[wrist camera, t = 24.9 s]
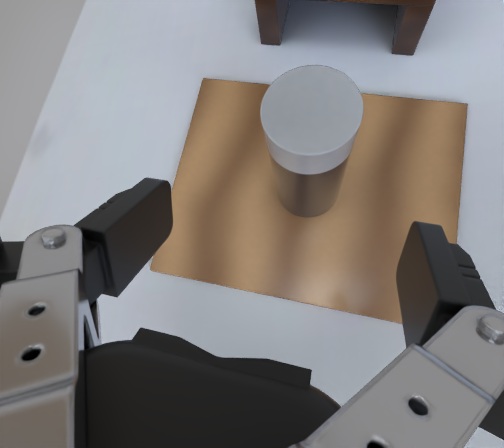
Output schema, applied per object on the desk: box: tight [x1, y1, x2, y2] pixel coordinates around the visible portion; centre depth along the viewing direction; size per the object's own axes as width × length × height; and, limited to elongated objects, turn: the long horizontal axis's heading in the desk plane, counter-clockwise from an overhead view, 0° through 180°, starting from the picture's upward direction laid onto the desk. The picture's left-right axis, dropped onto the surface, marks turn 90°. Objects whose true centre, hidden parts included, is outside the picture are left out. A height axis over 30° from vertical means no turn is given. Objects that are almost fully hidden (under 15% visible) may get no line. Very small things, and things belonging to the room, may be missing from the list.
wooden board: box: [150, 78, 468, 324], centre depth 25 cm, size 20×16×1 cm
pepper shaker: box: [260, 65, 364, 218], centre depth 20 cm, size 4×4×10 cm
